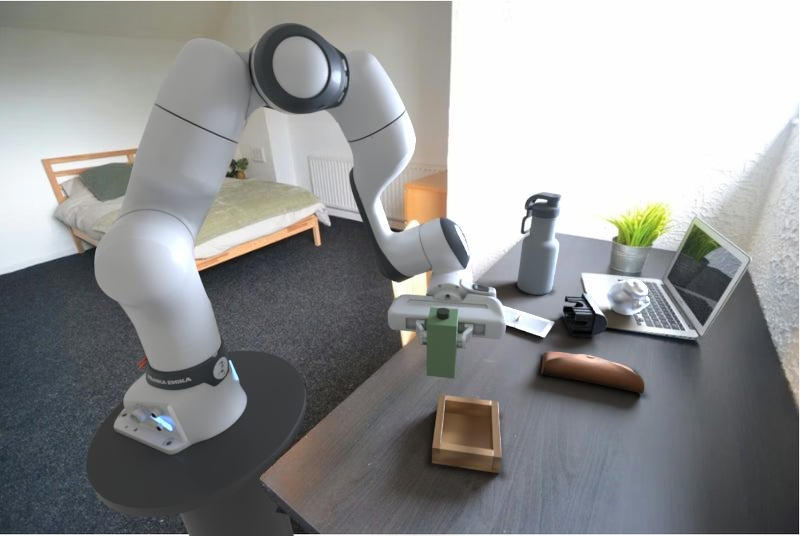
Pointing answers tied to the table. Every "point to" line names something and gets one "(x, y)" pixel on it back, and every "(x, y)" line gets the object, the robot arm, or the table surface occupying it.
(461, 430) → the wooden tray
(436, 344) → the green carton with cap
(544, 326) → the white shallow tray
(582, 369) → the sunglasses case
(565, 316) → the end cap
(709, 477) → the table surface
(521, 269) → the water bottle
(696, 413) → the table surface
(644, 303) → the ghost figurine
